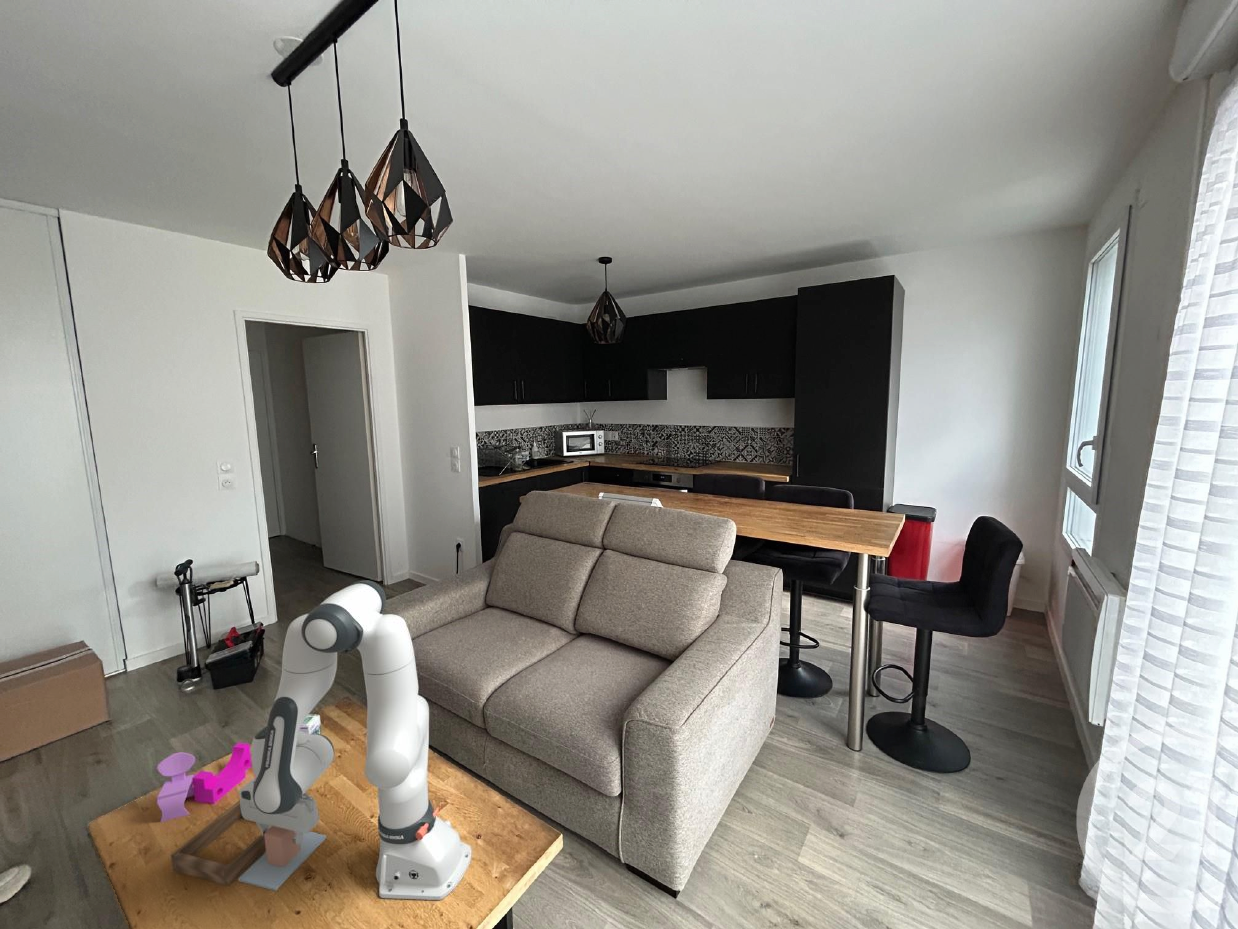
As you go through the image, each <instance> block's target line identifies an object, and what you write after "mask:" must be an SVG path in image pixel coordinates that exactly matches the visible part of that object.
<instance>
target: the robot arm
mask: <svg viewBox="0 0 1238 929" xmlns="http://www.w3.org/2000/svg"><path fill="white" fill-rule="evenodd" d="M386 603H387V596H386V593H385V590H384V589H383V587H382V586H381V585H380V584H379V583H377V582H375V581H374V580H373V581H372V580H368V579H367V580H365V579H363V580H359V581H358V580H357V581H355V582H352V583H350V584H347V586H346V587H344V588H342V589H341V590H339V591H336V592H334V593H333V594H331V595H330V596H328V597H327V598H326V599H324V601H322V602H321V603H320V604H319V605H317V606H315V607H314V608H313V609H311V611H310V612H308V613H305V614H302V615H301V616H300V615H299V616H298V617H297V618H295V619H294V620H293V621H292V622H291V623H290V624H289V626H288V627H287V631H286V635H285V639H284V644H283V651H282V659H281V660H282V662H281V675H280V681H279V685H278V690H277V693H276V696H275V699H274V701H273V704H272V705H271V706H272V707H271V709H270V713H269V715H268V719H267V720H268V721H267V726H265V727H264V728H262V729H261V730H260V731H259V732H258V733H257V734H255V735H254V737H253V739H252V741H251V742H252V743H251V748H250V754H251V763H252V766H251V767H252V768H251V769H252V771H253V774H254V776H255V777H254V778H252V779H251V780H249V781H248V782H247V783H246V784H244V785H243V786H242V787H241V788H240V789H239V790H238V797H239V798H240V799H239V800H240V808H241V814H242V816H243V817H242V818H243V819H244V820H246V821H250V822H254V823H256V826H257V827H258V829H259V831H260V833H261V834H262V836H264V834H265V833H266V832H267V831H268V830H269V829H270V828H271V827H272V826H275V827H279V828H284V829H288V830H292V831H295V833H296V835H295V836H294V837H293V838H292V840H293V844H297V845H299V844H300V843H301V842H302V841H303V839H304V837H303V833H305V834H307V833H308V832H312V830H313V829H314V828H315V827H316V826H317V825H318V823H319V822H320V815H319V810H318V805H317V801H316V800H315V798H314V797H313V796H312V795H310V794H309V793H307V791H308V790H309V789H310V788H311V787H312V785H314V784H315V783H316V782H317V781H318V779H319V778H320V777H321V776H322V775H323V774H324V772H326V770H327V769H328V768H329V767H330V766H331V764H333V762H334V759H335V747H334V745H333V743H332V741H331V740H330V739H329V737H327V736H326V735H323V734H322V735H321V734H308V733H305V732H302V731H300V728H301V726H302V724H303V722H304V720H305V719H306V717H307V716H308V715H309V714H311V712H312V711H313V709H314V708H315V707H316V706H317V704H318V703H319V702H320V701H321V700H322V699H323V698H324V696H325V695H326V694H327V693H328V692H329V691H330V689H331V687H332V686H333V684H334V681H335V677H336V673H337V668H338V653H341V654H345V655H346V654H350V653H352V652H353V651H355V650H358V651H359V653H360V656H361V661H362V662H361V663H362V671H363V677H364V678H363V679H364V684H365V686H364V687H365V693H366V699H367V701H366V702H367V713H366V714H367V715H366V756H365V762H364V763H365V765H364V775H365V778H366V780H367V781H368V782H369V783H370V784H371V785H372V786H374V787H376V788H377V798H378V800H377V801H378V802H377V803H378V812H379V813H378V816H377V830H378V836H379V838H380V841H379V842H380V843H379V855H378V860H377V865H376V869H375V878H376V880H377V882H378V884H379V890H378V891H379V892H378V896H379V897H380V898H382V899H396V900H397V899H399V900H406V899H407V900H424V901H425V900H426V901H427V900H430V901H440V900H443V899H445V898H446V897H447V896H448V895H450V893H451V892H453V891H454V890H455V889H456V887H457V885H459V883H460V882H461V880H462V878H463V877H464V875H465V874H466V872H467V870H468V868H469V866H470V863H471V860H472V855H473V854H472V853H473V852H472V846H471V845H470V844H468V843H465V842H463V841H461V837H460V834H459V833H458V831H457V830H456V829H454V828H453V827H452V823H451V822H450V821H449V820H445V821H444V820H442V819H441V818H440V817H439V816H437V815H438V814H439V811H440V810H439V809H440V808H439V806H438V807H436V809H435V808H434V807H433V805H432V802H431V800H430V799H429V786H428V763H429V762H428V761H429V744H430V743H429V741H430V740H429V737H430V736H429V734H430V730H429V729H430V725H429V724H430V708H429V704H428V702H427V700H426V698H424V697H423V696H421V695H419V680H418V672H417V665H416V664H417V663H416V658H415V649H414V645H413V641H412V637H411V634H410V630H409V628H408V625H407V623H406V620H405V619H404V618H403V617H401V616H400V615H397V614H391V613H390V614H389V613H387V614H382V613H383V612H384V608H385V607H386ZM434 809H435V810H434Z"/></svg>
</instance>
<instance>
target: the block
mask: <svg viewBox="0 0 1238 929" xmlns="http://www.w3.org/2000/svg"><path fill="white" fill-rule="evenodd" d="M295 835H296V833H295V831H292V830H288V829H284V828H279V827H275V826H272V827H271V828H270V829H269V830H268V831H267V832H266V833H265V834H264V837H265V846H266V851H265V852H266V856H267V863H269V864H273V865H277V866H281V867H285V866H286V865H287V864H288V863H289V862H290V861H291V859H292V858H293V857H294V856H295V855H296V854H297V853H298V852H299V851H300V850H301V844H299V845H297V844H293V840H292V838H293V837H294V836H295Z"/></svg>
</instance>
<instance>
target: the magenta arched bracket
mask: <svg viewBox="0 0 1238 929" xmlns="http://www.w3.org/2000/svg"><path fill="white" fill-rule="evenodd" d="M251 767H252V757H251V748H250V743H243V742H238V743H236V744H235V745H234V746H233V747H232V753H231V756H230V758H229V760H228V762H227V764H226V765H225V767H224V768H223V769H221V771H220V772H218V773H217V774H215V775H214V773H213V772H212V771H203V770H200V771H199V772H197V774H194V777H193V778H192V780H193V788H194V801H195V802H198V803H205V804H215V803H217V802H218V801H219V800H220V799H221V798H223V797H224V796H225V795H226V794H228V793H229V792H230V791H231V790H232V789H233V788H235V787H236V786H237V785H239V784H240V783H241V782H242V781H243V780H244V779H246V776H247V775H246V771H247V770H248V769H249V768H251Z"/></svg>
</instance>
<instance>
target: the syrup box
mask: <svg viewBox="0 0 1238 929" xmlns="http://www.w3.org/2000/svg"><path fill="white" fill-rule="evenodd" d="M300 731H302V732H305V733H308V734H321V735H323V734H322V733H323V732H322V725H321V715H320V714H313V713H309V715H308V716H307V717H306V719H305V720H304V722H303V724H302V726H301V728H300Z"/></svg>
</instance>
